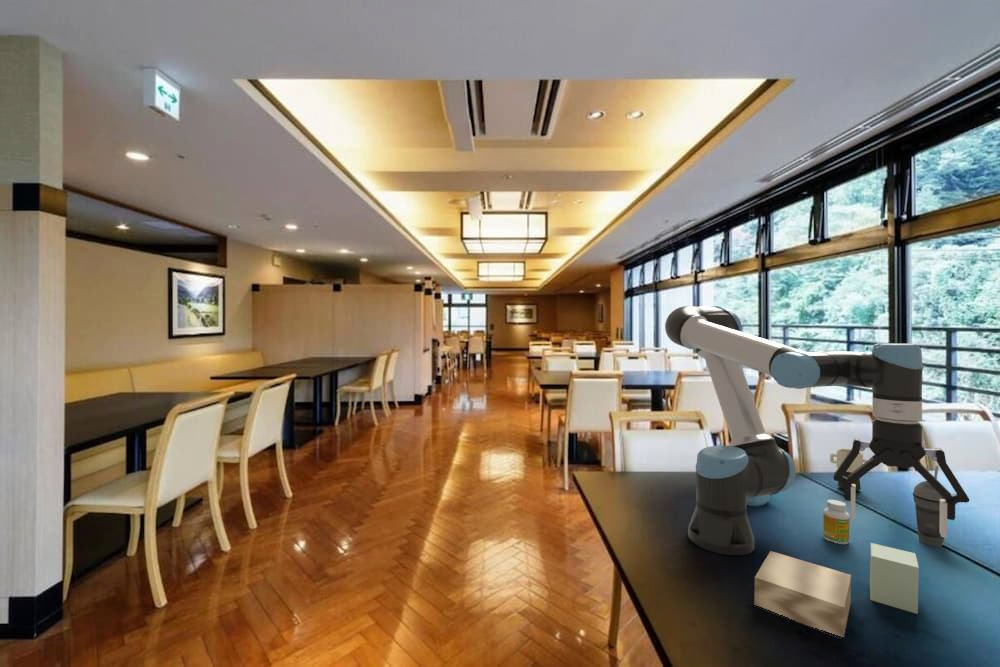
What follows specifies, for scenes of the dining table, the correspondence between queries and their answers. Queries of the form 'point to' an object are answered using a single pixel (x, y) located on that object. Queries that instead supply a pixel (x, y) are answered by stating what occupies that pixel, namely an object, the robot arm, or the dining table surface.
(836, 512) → the supplement bottle
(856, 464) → the character mug
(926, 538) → the beverage cup
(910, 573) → the sage block
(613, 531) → the dining table surface
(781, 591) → the maple block
